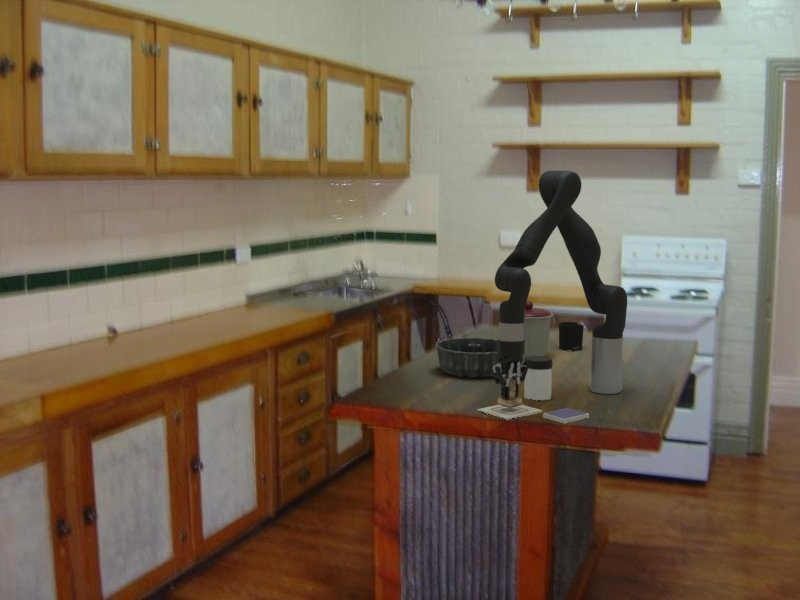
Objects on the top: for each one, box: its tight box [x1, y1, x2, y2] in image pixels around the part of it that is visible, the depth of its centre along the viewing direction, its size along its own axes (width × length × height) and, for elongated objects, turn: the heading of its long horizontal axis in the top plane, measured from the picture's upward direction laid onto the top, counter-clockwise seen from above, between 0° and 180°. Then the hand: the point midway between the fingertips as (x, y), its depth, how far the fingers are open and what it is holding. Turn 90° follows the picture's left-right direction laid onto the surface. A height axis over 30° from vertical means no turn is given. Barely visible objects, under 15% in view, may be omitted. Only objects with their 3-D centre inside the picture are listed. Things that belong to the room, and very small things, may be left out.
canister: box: [522, 300, 554, 361], centre depth 339 cm, size 18×18×21 cm
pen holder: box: [558, 321, 585, 352], centre depth 358 cm, size 9×9×10 cm
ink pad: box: [542, 407, 590, 424], centre depth 258 cm, size 10×8×1 cm
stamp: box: [497, 378, 523, 408], centre depth 263 cm, size 5×5×7 cm
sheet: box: [476, 404, 543, 421], centre depth 264 cm, size 14×12×1 cm
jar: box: [523, 356, 554, 402], centre depth 281 cm, size 9×8×12 cm
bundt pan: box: [435, 336, 499, 379], centre depth 314 cm, size 26×26×10 cm
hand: (509, 397), depth 264 cm, fingers closed on stamp, 3 cm apart
